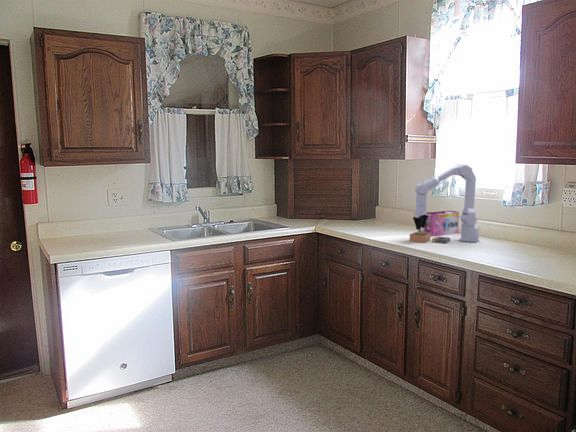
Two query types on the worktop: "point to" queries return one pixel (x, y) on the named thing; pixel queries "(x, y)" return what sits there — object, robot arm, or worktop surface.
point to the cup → (420, 237)
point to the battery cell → (420, 231)
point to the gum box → (442, 223)
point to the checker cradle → (441, 239)
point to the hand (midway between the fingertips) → (420, 228)
